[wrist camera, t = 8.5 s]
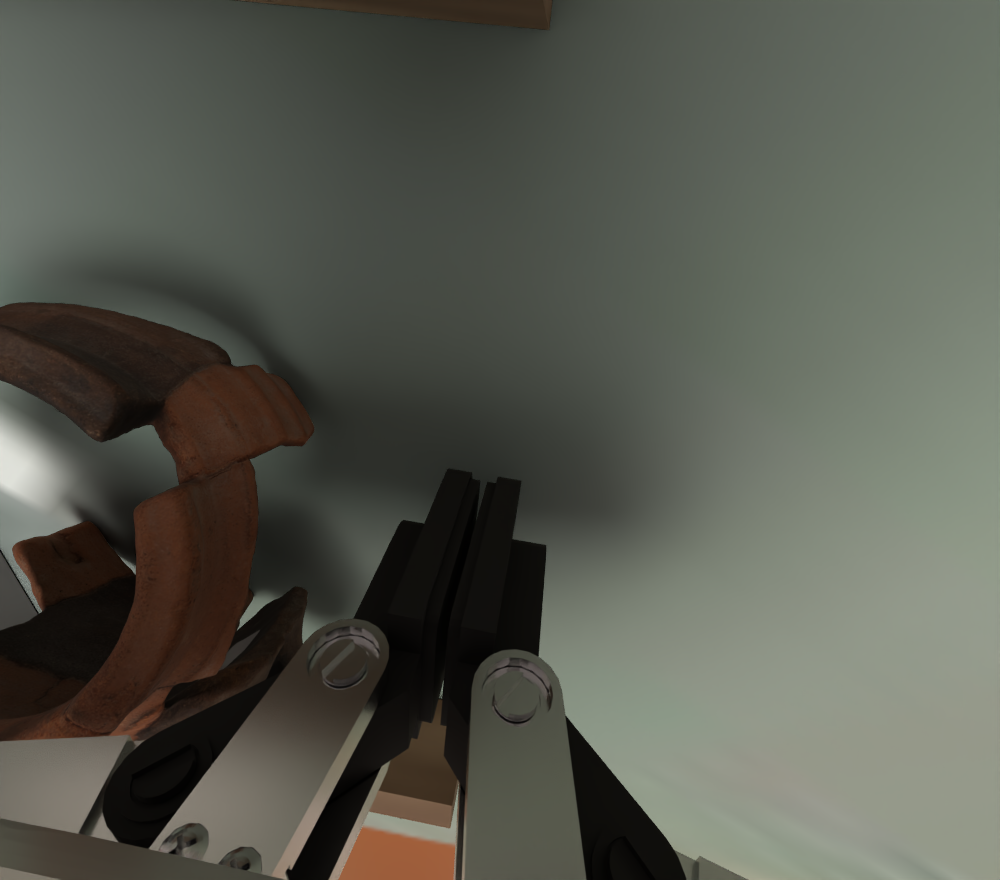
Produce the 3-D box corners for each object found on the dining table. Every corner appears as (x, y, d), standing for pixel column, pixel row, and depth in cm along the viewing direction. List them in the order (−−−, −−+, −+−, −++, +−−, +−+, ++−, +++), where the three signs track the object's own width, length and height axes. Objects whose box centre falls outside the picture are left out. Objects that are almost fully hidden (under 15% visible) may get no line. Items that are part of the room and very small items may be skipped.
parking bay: (-525, -195, 8) (-1082, -374, 5) (565, -113, 6) (558, -294, 4) (22, 641, 18) (-67, 719, 16) (468, 729, 17) (450, 828, 15)
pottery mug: (-1, 469, 15) (-605, 527, 6) (248, 282, 15) (-22, 107, 7) (254, 762, 15) (8, 1150, 7) (485, 579, 16) (505, 749, 7)
